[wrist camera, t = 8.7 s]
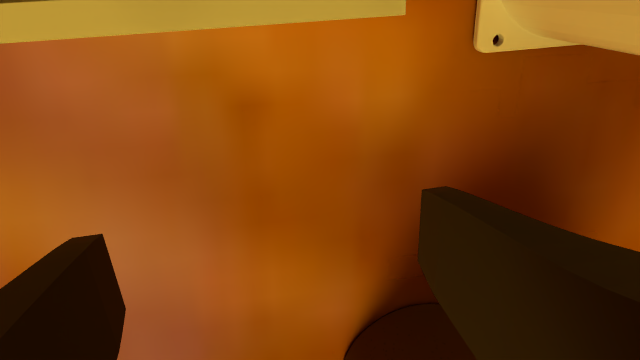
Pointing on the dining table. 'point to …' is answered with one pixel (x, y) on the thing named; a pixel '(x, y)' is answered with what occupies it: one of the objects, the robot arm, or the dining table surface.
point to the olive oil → (411, 337)
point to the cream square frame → (169, 15)
